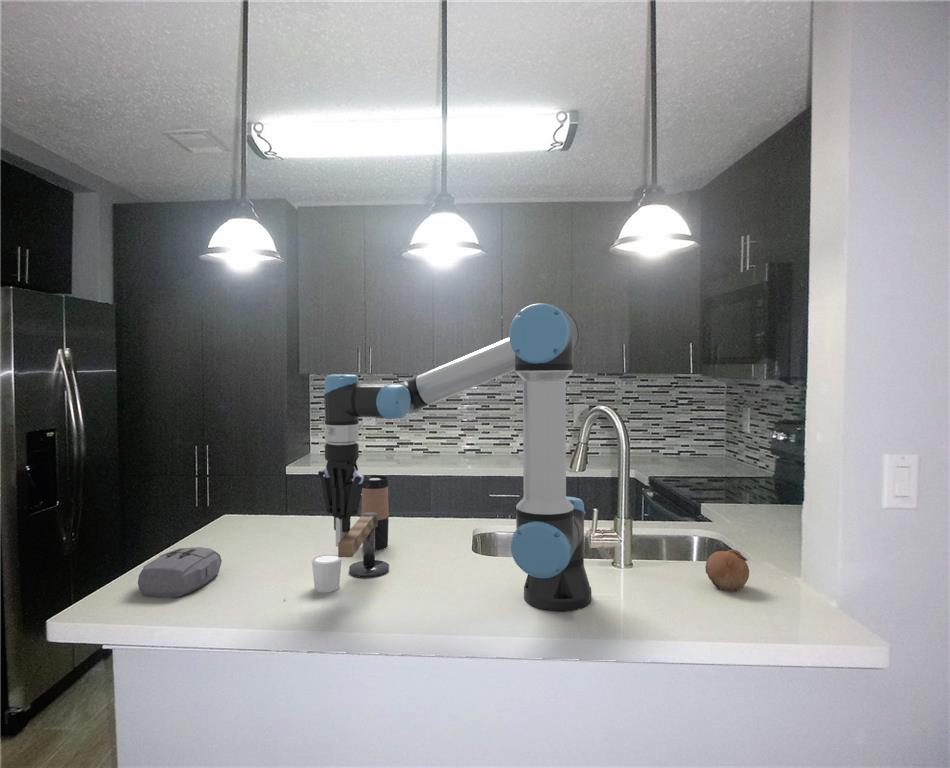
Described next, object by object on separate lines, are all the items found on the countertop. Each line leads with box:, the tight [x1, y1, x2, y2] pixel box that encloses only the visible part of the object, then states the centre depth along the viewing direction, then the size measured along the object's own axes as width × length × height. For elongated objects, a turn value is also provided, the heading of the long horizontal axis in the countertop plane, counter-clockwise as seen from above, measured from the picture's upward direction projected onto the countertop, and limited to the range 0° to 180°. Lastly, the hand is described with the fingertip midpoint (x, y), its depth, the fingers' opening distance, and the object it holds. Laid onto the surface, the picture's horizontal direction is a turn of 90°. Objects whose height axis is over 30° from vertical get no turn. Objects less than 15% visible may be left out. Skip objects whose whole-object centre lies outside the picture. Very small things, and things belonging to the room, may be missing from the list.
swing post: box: [348, 528, 390, 579], centre depth 157 cm, size 10×10×11 cm
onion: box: [705, 549, 750, 592], centre depth 145 cm, size 10×9×10 cm
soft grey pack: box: [137, 546, 223, 599], centre depth 149 cm, size 15×8×20 cm
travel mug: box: [361, 474, 390, 551], centre depth 177 cm, size 8×8×20 cm
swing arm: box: [337, 512, 378, 558], centre depth 146 cm, size 27×4×3 cm, turn 178°
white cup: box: [311, 554, 343, 593], centre depth 146 cm, size 7×7×7 cm
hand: (342, 545), depth 141 cm, fingers closed
